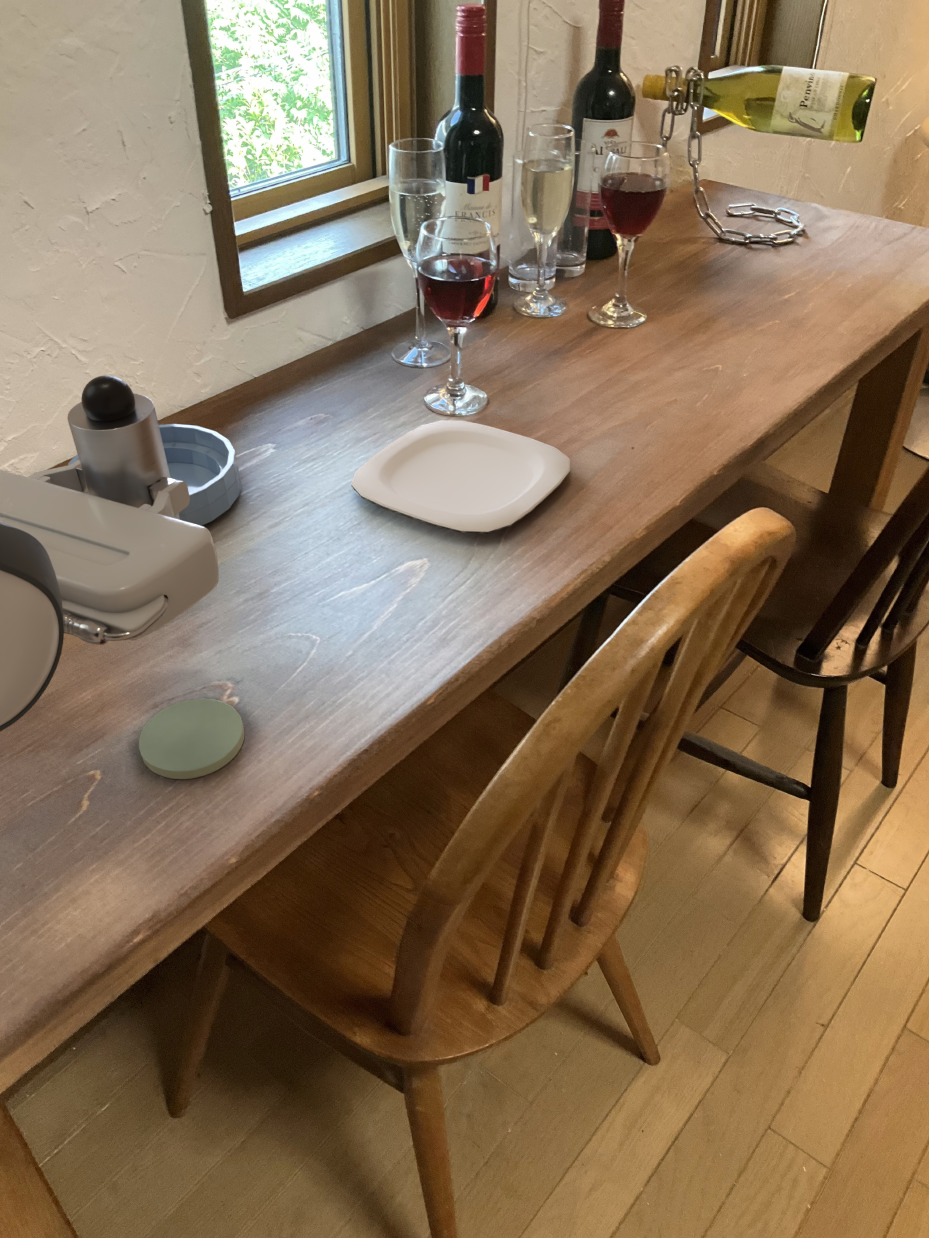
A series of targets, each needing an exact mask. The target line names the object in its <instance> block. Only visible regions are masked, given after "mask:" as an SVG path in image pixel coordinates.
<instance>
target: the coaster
mask: <svg viewBox="0 0 929 1238" xmlns="http://www.w3.org/2000/svg"><path fill="white" fill-rule="evenodd" d="M244 741H245V727H244V723H243V719H242V716H241V714H240V713H239V712H238V710H236V708H235V707H233V706H232V705H231V704H228V703H227V702H225V701H222V700H218V699H215V698H207V697H206V698H205V697H204V698H191V699H186V700H185V699H184V700H181V701H178V702H175V703H172V704H171V705H168V706H166V707H164V708H163V709H160V711H157V712H156V714H154V715H153V716H152V717H151V718H150V719H149V720H148V721H147V722H146V724H144V726H143V728H142V729H141V732H140V735H139V740H138V749H139V753H140V756H141V758H142V761H143V763H144V765H145V766H146V767H147V768H148V769H149V770H150V771H152V772H153V773H155V774H157V775H158V776H161V777H163V778H167V779H173V780H190V779H196V778H200V777H205V776H207V775H210V774H212V773H214V772H216V771H218V770H220V769H222V768H224V767H225V766H226V765H227V764H229V763H230V762H231V761H232V760H233V759H234V758H235V757H236V756H237V755H238V754H239V752H240V750H241V748H242V746H243V743H244Z"/></svg>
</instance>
